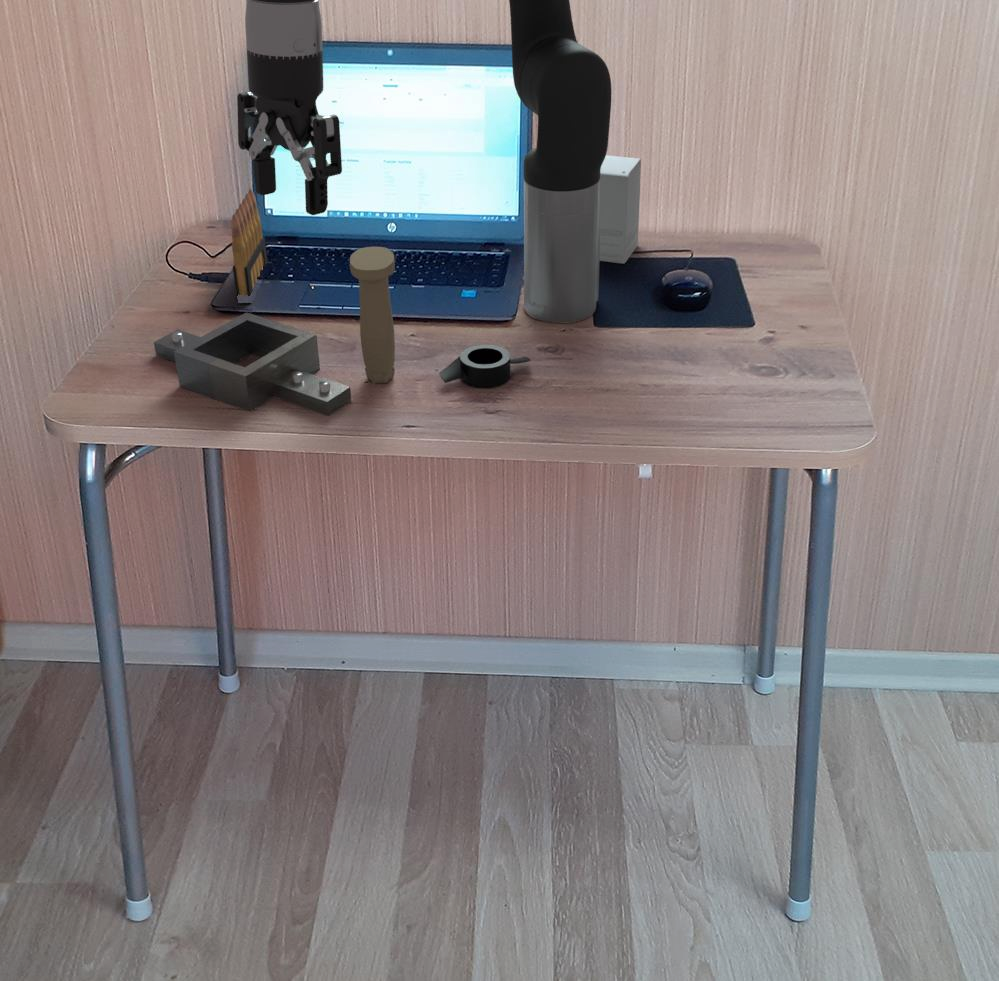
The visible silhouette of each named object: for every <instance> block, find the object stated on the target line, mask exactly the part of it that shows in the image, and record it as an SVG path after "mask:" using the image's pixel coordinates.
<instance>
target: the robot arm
mask: <svg viewBox="0 0 999 981" xmlns="http://www.w3.org/2000/svg"><path fill="white" fill-rule="evenodd" d="M319 1H320V0H246V2H245V3H246V4H245V15H244V16H245V18H244V23H245V25H244V26H245V28H244V29H245V43H246V61H247V62H246V63H247V81H248V84H247V85H248V90H249V91H245V92H241V93H240V92H239V93H238V94H237V98H236V99H237V100H236V101H237V102H236V104H237V144H238V146H239V148H240V150H242V151H243V150H246V151H247V152H248V155H249V157H250V159H251V160H252V162H253V176H254V177H253V178H254V186H255V192H256V194H258V195H260V196H266V195H270V194H274V193H275V192H276V190H277V175H276V158H275V157H272V156H273V155H274V154H275V152H276V149H277V147H279V146H281V147H282V148H283V149H285V150H287V151H289V152H290V154H291V157H292V159H293V160H294V161H295V162H298V163H299V164H300V167H301V170H302V172H303V174H304V176H305V179H304V190H305V192H304V194H305V196H304V197H305V212H306V213H307V214H309V215H311V216H316V215H319V214H324V213H325V212H326V211H327V208H328V204H329V203H328V202H329V200H328V197H329V196H328V179H329V178H330V177H334V176H338V175H341V174H342V172H343V164H342V162H343V161H342V151H341V150H342V147H341V131H340V130H341V129H340V126H341V125H340V118H339V117H338V115H337V114H331V115H320V114H319V111H318V108H317V99H318V98H319V96H320V95H321V94H322V93H323V92H324V61H323V60H324V58H323V57H324V55H323V54H324V53H323V23H322V15H321V9H320V2H319ZM508 3H509V13H510V14H509V16H510V34H511V35H510V36H511V39H510V40H511V65H512V76H513V77H512V78H513V83H514V84H513V85H514V88H515V90H516V94H517V95H518V98H519V100H520V101H521V102H522V104H523V105H524V106H525V107H526V108H527V109H529V110H530V111H531V112H532V113H533V114H535V115H536V116H537V138H536V147H534V148H532V149H531V150H529V151H528V152H527V153H526V154H525V156H524V159H523V308H524V312H525V313H526V314H527V315H528V316H530V317H531V318H533V319H535V320H538V321H541V322H545V323H553V324H567V323H575V322H579V321H584V320H585V319H587V318H589V317H591V316H592V315H594V313H595V312H596V311H597V310H596V309H597V302H598V301H599V289H600V288H599V287H600V286H599V284H600V262H601V261H600V232H599V231H598V229H599V192H600V170H601V166H602V163H603V161H604V159H605V156H606V155H607V152H608V147H609V136H610V135H609V134H610V123H611V110H612V81H611V79H612V78H611V75H610V74H611V73H610V71H609V68H608V65H607V64H606V62H605V60H604V59H603V58H602V57H601V56H600V55H599V54H597V52H594V51H592V50H591V49H589V48H588V47H587V46H583V45H582V44H581V43H578V40H577V35H576V33H575V28H574V23H573V16H572V10H571V4H570V3H571V2H570V0H508ZM251 127H252V135H249V128H251ZM309 143H310V144H311V146H310V147H307V146H308V145H309ZM328 154H330V155H329V156H330V157H329V158H330V159H329V160H330V163H328V161H327V155H328ZM311 159H313V160H314V161H315V164H314V165H315V166H313V164H312V160H311Z"/></svg>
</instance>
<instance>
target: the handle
mask: <svg viewBox="0 0 999 981" xmlns="http://www.w3.org/2000/svg"><path fill="white" fill-rule="evenodd" d="M395 266H396V264H395V254H394V253H393V251H392V250H390V249H389V248H387V247H384V246H365V247H362V248H358V249H357V250H355V251H354V252H353V253H351V254H350V257H349V270H350V273H351V276H353V277H354V278H356V279H357V280H358V285H359V288H358V289H359V290H358V292H359V327H360V328H359V332H360V345H361V351H362V352H361V353H362V357H363V358H362V359H363V363H364V367H365V368H364V370H365V376H366V378H367V379H368V380H370V381H371V382H372V383H373V384H386V383H388V382H389V381H390V380H391V379H394V377H395V374H396V373H395V368H396V367H395V366H394V365H395V359H396V339H395V329H394V328H395V327H394V326H395V325H394V319H393V318H394V317H393V312H392V304H391V303H392V302H391V295H390V286H389V277H390V276H392V275H393V274H394V273H395V268H396V267H395Z"/></svg>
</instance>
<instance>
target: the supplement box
mask: <svg viewBox="0 0 999 981" xmlns="http://www.w3.org/2000/svg"><path fill="white" fill-rule="evenodd" d="M641 168H642V159H641V158H639V157H638V158H637V157H626V156H618V155H609V154H608V155H607V154H606V156H605V159H604V161H603V163H602V166H601V170H600V192H599V229H598V231H599V232H600V261H599V262H608V263H614V264H615V263H616V264H621V265H622V264H623V265H624V264H625V263H626V262H627V261H628V260H629V258H630V257H631V255H632V254H633V253H634V251H635V250H636V249H637V247H638V245H639V229H640V228H639V225H640V224H639V222H640V202H641V201H640V198H641V197H640V195H641V170H642V169H641Z"/></svg>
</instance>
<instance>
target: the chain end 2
mask: <svg viewBox="0 0 999 981" xmlns="http://www.w3.org/2000/svg"><path fill="white" fill-rule="evenodd" d="M279 323H280V324H279V325H277V326H275V327H273V328H272V330H273V338H274V346H275V350H274V351H272V352H270V353H269V354H267V355H265V356H264V357H260V358H259V359H257V360H255V361H253V362H252V363H250V364H248V365H246V366H241V365H240V364H239V365H238V364H236V363H235V364H233V363H230V362H227V361H224V360H222V359H219V358H218V359H217V360H215V361H213V362H211V363H210V364H209V367H210V373H211V380H212V386H213V393H214V400H217V401H219V402H222V403H225V404H227V405H230V406H233V407H236V408H238V407H239V409H241V408H242V409H241V410H244V409H245V410H244V411H247V410H248V411H247V412H249V411H250V412H249V413H251V412H253V411H254V410H256V409H257V408H259V407H261V406H262V405H264V404H266V403H267V402H269V401H270V400H272V399H274V398H276V399H280V400H282V401H285V402H288V403H291V404H294V405H297V406H300V407H301V408H304V409H308V410H311V411H314V412H316V413H319V414H321V415H325V416H328V417H329V416H330V415H333V414H334V413H335V412H337V411H339V410H340V409H341V408H343V407H344V406H345V405H348V404H349V403H351V402H352V392H351V386H348V385H346V384H343V383H339V382H336V381H335V380H334V381H333V380H330V379H328V378H325V377H322V376H320V375H316V374H315V372H317V371H319V370H320V369H321V366H320V355H319V347H318V345H319V344H318V336H317V335H318V334H316V333H313V332H309V331H307V330H304V329H300V328H297V327H295V326H294V327H293V326H290V325H288V324H285V323H282V322H279ZM255 408H256V409H255ZM252 410H253V411H252Z"/></svg>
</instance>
